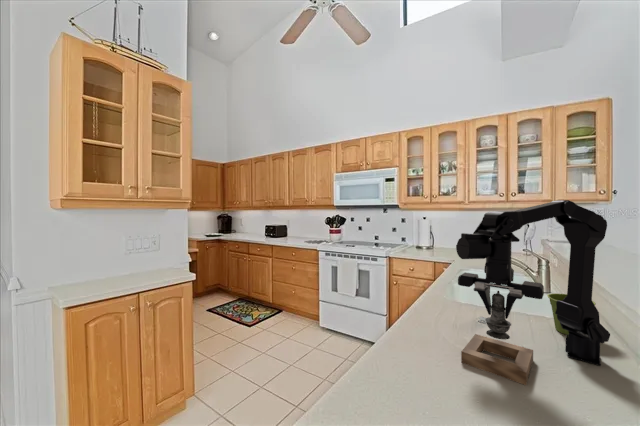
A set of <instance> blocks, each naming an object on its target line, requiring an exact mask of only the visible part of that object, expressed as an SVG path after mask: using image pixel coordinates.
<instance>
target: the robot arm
mask: <svg viewBox="0 0 640 426" xmlns="http://www.w3.org/2000/svg"><path fill="white" fill-rule="evenodd" d="M553 218H554V219H555V221H556V223H558V224H560V225H561V226H562V227H563V234H564V236H565V238H566V240H567V241H568V243H569V244H570V248H569V249H570V251H569V264H568V265H569V266H568V275H567V277H568V279H567V291H566V294H567V296H566V297H565V298H564V299H563V300H562V301H559V300H558V301H557V302H556V305H557V309H556V312H555V314H557V319H558V320H559V321H560V324H561V327H562V329H565V330H567V331H569V335H566V334H565V347H564V348H565V350H564V351H565V353H567V357H568V358H571V359H575V360H577V361H582V362H585V363H589V364H593V365H596V366H601V365H602V362H601V361H602V360H601V344H605V343H607V342H609V340H610V337H611V333H610V332H609V331H608V330H607V329H606V328H605V327H604V326H603V325H602V324H601V322H600V320H601V319H600V312H599V311H598V308H597V306H596V304H595V305H594V303H593V302H592V301H593V299H592V298H593V289H594V288H593V287H594V285H593V284H594V275H595V272H594V271H595V263H596V262H595V260H596V249H597V247H598V245H600V243H601V242H602V241H603V240H604V239H605V237H606V233H607V228H608V222H607V220H606V219H605V218H604V216H602V215H601V214H599V213H598V214H597V212H595V211H592V210H590V209H588V208H585V207H583V206H581V205H578V204H576V203H575V202H574V201H572V200H568V199H567V200H566V199H565V200H564V199H563V200H562V199H561V200H559V199H558V200H552V201H550V202H546V203H545V202H544V203H542V204H538V205H533V206H529V207H525V208H520V209H516V210H499V211H498V210H497V211H494V210H493V211H487V212H485V214H484V215H483V217H482V220H481V221H480V222H479V225H478V226H477V227H476V229H475V230H474V232H473V233H465V232H462V233H460V238H459V239H458V240H457V244H456V246H455V249H456V250H455V251H456V253H457V256H458V257H459V258H460V259H461V260H484V259H485V264H484V272H483V273H485V278H482V277H479V274H477V273H470V272H464V273H461V274H460V275H459V276H458V277H457V285H458V286H461V287H467V288H470V287H472V286H473V285H474V288H473V291H474V292H477V294H478V295H479V297H480V299H481V300H482V303H483V305H484V307H485V310H486V311H487V314H488V315H489V316H491V314H492V308H491V307H490V306H491V305H492V298H491V288H498V289H502V290H508V293H507V295H506V301H505V308H506V309H505V319H506V320H507V319H508V318H509V316H510V314H511V311H512V309H513V306H514V304H515V302H516V300H522V299H523V297H526V298H531V299H535V300H543V297H544V295H545V286H544V285H543V284H542V282H541V283H540V282H536V281H530V280H529V281H527V280H524V281H523V282H522V283H517V282H515V283H514V276H515V275H514V274H515V273H514V272H515V270H514V269H513V266H512V243H514V242H515V243H518V242H520V241H521V240H520V238H518V237H517V236H516V235H515V234H514V232H517V231H518V230H520V229H522V228H523V226H526V225H527V224H528V225H529V224H532V223H537V222H540V221H545V220H549V219H553Z"/></svg>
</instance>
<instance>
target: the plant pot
mask: <svg viewBox="0 0 640 426" xmlns="http://www.w3.org/2000/svg"><path fill="white" fill-rule="evenodd" d="M566 296H567V293H548V294H547V298H548V299H549V304H550V305H551V311H552V318H553V322H554V327H555V330H556V331H557V332H559V333H561V334H564V335H565V336H566V335H569V331H567V330H565V329H562V327H561V324H560V321H559V320H558V319H557V314H555V312H556V309H557V305H556V302H557V301H558V300H559V301H562V300H563V299H564V298H565V297H566ZM592 302H593V303H594V305H595V306H596V302H595V301H593V300H592Z"/></svg>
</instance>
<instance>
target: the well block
mask: <svg viewBox="0 0 640 426" xmlns="http://www.w3.org/2000/svg"><path fill="white" fill-rule="evenodd" d="M484 351H485V352H488V353H490V354H495V355H498V356H501V357H504V358H507V359H511V360H513V361H514V362H511V361H508V360H505V359H502V358H498V357H495V356H492V355H489V354H486V353H483V352H484ZM460 355H461V358H460V362H461V363H462V364H464V365H467V366H470V367H473V368H476V369H479V370H481V371H484V372H487V373H490V374H492V375H496V376H498V377H502V378H504V379H507V380H510V381H513V382H516V383H518V384H521V385H525V386H527V385H528V380H529V377H530V373H531V370H532V367H533V364H534V363H533V362H534V349H530V348H527V347H523V346H520V345H516V344H513V343H509V342H505V341H502V340H500V339H496V338H493V337H487V336H484V335H481V334H476V333H475V334H474V335H473V336H472V338H471V339H470V340H469V341H468V342H467V343H466V345H465V346H464V348H463V349H462V350H461V353H460Z"/></svg>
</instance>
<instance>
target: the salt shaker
mask: <svg viewBox="0 0 640 426" xmlns="http://www.w3.org/2000/svg"><path fill="white" fill-rule="evenodd" d="M490 307H491V315H490V317H485V318H486V319H485V321H486V322H487V323H486V325H487V327H488V328H489V329H488V330H486V334H487V335H488V336H489V337H490V338H492V339H496V340H505V341H506V340H509V339H511V337H510V334H509V333H507V332H509V330H510V328H511V326H512V323H511V321H509V320H507V319H506V318H505V309H506V301H505V296H504V295H503V294H501V293H500V291H499V290H496V293H493V294H491V306H490Z"/></svg>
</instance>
